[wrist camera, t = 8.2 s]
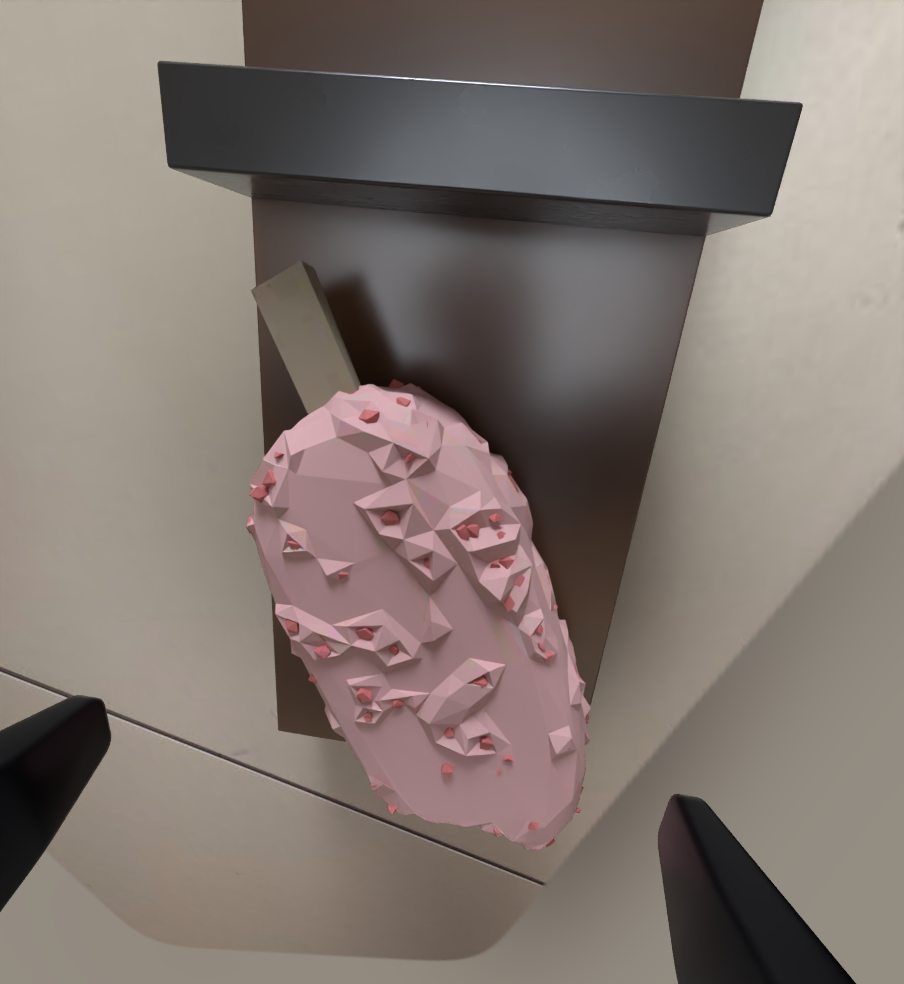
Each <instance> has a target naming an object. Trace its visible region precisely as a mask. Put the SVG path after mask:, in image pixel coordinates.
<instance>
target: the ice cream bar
mask: <svg viewBox="0 0 904 984" xmlns="http://www.w3.org/2000/svg"><path fill="white" fill-rule="evenodd" d="M251 292H252V294H253V296H254V298H255V300H256V302H257V305H258V307H259V309H260V311H261V313H262V315H263V318H264V320H265V322H266V324H267V326H268V328H269V331H270V333H271V335H272V337H273V339H274V341H275V344H276V346H277V348H278V350H279V352H280V354H281V357H282V359H283V361H284V363H285V365H286V367H287V370H288V372H289V374H290V376H291V378H292V380H293V383H294V385H295V387H296V389H297V391H298V393H299V396H300V398H301V400H302V402H303V404H304V406H305V409H306V411H307V413H308V415H307V416H306V417H304V418H303V419H301V420H300V421H299V422H298V423H297V424H296V425H295V426H294V427H293V428H292V429H291V430H285V431H283V433H282V434H281V435H280V437H279V438H278V439H277V441H276V442H275V444H274V445H273V446H272V448H271V449H270V450H269V452H268V453H267V454H266V456H265V457H264V458H263V460H262V462H261V464H260V465H259V467H258V469H257V471H256V473H255V475H254V477H253V478H252V480H251V482H250V484H249V485H250V488H251V491H250V496H251V497H253V498H254V500H255V503H254V510H253V516H251V517H249V520H248V525H247V527H246V528H247V529H248V531H249V533H250V534H252V536H253V538H254V540H255V542H256V545H257V549H258V552H259V556H260V560H261V563H262V567H263V571H264V574H265V577H266V579H267V582H268V585H269V587H270V590H271V593H272V595H273V598H274V601H275V603H276V609H275V614H276V616H277V618H278V619H279V621H280V623H281V624H282V626H283V628H284V629H285V631H286V633H287V635H288V636H289V638H290V639H291V653H292V654H294V655H296V656H298V657H300V658H301V659H302V661H303V663H304V665H305V666H306V668H307V670H308V672H309V674H310V677H309V679H308V680H309V681H311V682H313V683H315V685H316V687H317V689H318V691H319V693H320V695H321V697H322V698H323V700H324V702H325V704H326V706H325V712H326V715H327V717H328V720H329V722H330V724H331V727H332V729H333V730H334V731H335V732H336V733H337V734H339V735H340V736H342V737H344V739H345V740H346V742H347V744H348V745H349V747H350V748H351V750H352V752H353V753H354V755H355V757H356V758H357V760H358V761H359V763H360V765H361V766H362V768H363V769H364V771H365V773H366V774H367V776H368V777H369V780H370V784H371V787H372V791H374V792H375V793H376V794H378V795H379V796H380V797H381V798H383V799H384V800H385V801H386V802H387V803H388V804H389V806H388V807H387V808H388V809H389V811H390V812H391V814H392V813H394V812H395V811H397V812H399V813H401V814H402V815H404V816H406V815H410V814H413V813H415V814H417V815H418V816H420V817H421V818H423V819H424V820H426V821H429V822H431V823H451V824H455V825H459V826H462V827H468V826H474V825H480V826H481V828H482V830H483V831H485V832H488V833H491V834H494V835H496V837H498V838H499V837H501V836H506V837H507V838H508V839H510V840H511V841H512V842H516V843H524V845H525V849H526V850H527V849H532V850H540V849H542V848H543V847H544V846H545V845H546V847H548V846H549V845H551V844H552V843H553V842H555V840H554V839H553V838H554V837H555V836H556V835H557V834H558V833H559V832H560V831H561V830H562V829H563V828H564V827H565V826H566V825H567V824H568V823H569V822H570V821H571V820H572V818H573V815H574V813H580V811H581V810H580V809H578V808H577V805H578V802H579V800H580V795H581V792H582V790H583V787H582V785H583V780H584V775H585V770H586V766H585V745H586V744H587V743H588V742H589V735H588V729H587V723H588V719H589V715H588V712H589V710H590V709H591V707H590V705H589V704H588V702H587V701H586V699H585V698H584V696H583V693H584V688H585V684H586V683H585V682H584V681H583V680H582V678H581V677H580V676H579V673H578V670H577V666H576V657H575V653H574V647H573V645H572V642H571V640H570V639H569V634H568V629H567V625H566V621H565V620H559V618H558V614H557V607H558V606H557V605H556V601H555V596H554V592H553V588H552V585H551V581H550V577H549V573H548V569H547V567H546V565H545V563H544V561H543V560H542V558H541V556H540V554H539V552H538V551H537V549H536V547H535V545H534V544H533V542H532V540H531V537H532V529H533V521H532V516H531V512H530V509H529V505H528V500H527V498H526V497H525V496H524V494H523V493H522V492H521V490H520V489H519V487H518V485H517V484H516V482H515V481H514V479H513V478H512V476H511V473H512V471H510V470H508V465H507V463H506V461H505V460H504V458H503V456H502V455H498V454H493V453H489V447H488V442H487V441H486V440H485V439H483V438H482V437H481V436H479V435H478V434H477V433H476V432H474V431H473V430H472V429H471V428H470V426H469V425H468V424H467V422H466V421H465V419H464V418H463V417H462V416H461V415H460V414H459V412H456V411H455V410H454V409H453V408H451V407H449V406H447V405H445V404H443V403H442V402H440V401H439V400H437V399H436V398H434V397H433V396H431V395H430V394H428V393H427V392H425V391H424V390H422V389H421V387H420V386H415V385H413V384H411V383H410V384H407V385H405V386H403V385H404V384H403V383H401V382H399V381H397V380H395V379H393V380H392V382H391V384H390V385H389V387H382V386H375V385H373V384H367V385H363V386H361V385H360V382H359V379H358V377H357V374H356V372H355V369H354V367H353V364H352V362H351V359H350V357H349V354H348V352H347V349H346V347H345V344H344V342H343V339H342V337H341V334H340V331H339V329H338V326H337V324H336V321H335V319H334V316H333V314H332V311H331V309H330V306H329V304H328V301H327V299H326V296H325V294H324V291H323V289H322V286H321V283H320V281H319V278H318V276H317V273H316V271H315V268H313V267H312V266H310V265H308V264H307V263H305V262H303V261H301V260H300V261H299V262H297V263H295V264H293V265H292V266H290V267H288V268H286V269H285V270H283V271H281V272H280V273H278V274H276V275H274V276H273V277H271V278H269V279H267V280H266V281H264V282H262V283H260V284H259V285H258V286H256V287H255V288H254V289H253V290H251Z"/></svg>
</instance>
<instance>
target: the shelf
mask: <svg viewBox="0 0 904 984" xmlns="http://www.w3.org/2000/svg"><path fill="white" fill-rule="evenodd" d="M763 2H764V0H242V14H243V34H244V54H245V66H232V65H217V64H201V63H186V62H171V61H159V62H158V74H159V84H160V94H161V104H162V114H163V123H164V133H165V143H166V153H167V163H168V166H169V167H170V168H172V169H174V170H177V171H180V172H182V173H185V174H188V175H191V176H193V177H196V178H199V179H202V180H204V181H207V182H210V183H213V184H215V185H218V186H221V187H224V188H226V189H229V190H232V191H235V192H237V193H240V194H243V195H246V196H248V197H251V198H252V214H253V234H254V254H255V273H256V286H258V285H259V284H260V283H262V282H264V281H266V280H267V279H269V278H271V277H273V276H274V275H276V274H278V273H280V272H281V271H283V270H285V269H286V268H288V267H290V266H292V265H293V264H295V263H297V262H299V261H300V260H301V261H303V262H305V263H307V264H308V265H310V266H312V267H313V268H315V271H316V273H317V276H318V278H319V281H320V283H321V286H322V289H323V291H324V294H325V296H326V299H327V301H328V304H329V306H330V309H331V311H332V314H333V316H334V319H335V321H336V324H337V326H338V329H339V331H340V334H341V337H342V339H343V342H344V344H345V347H346V349H347V352H348V354H349V357H350V359H351V362H352V364H353V367H354V369H355V372H356V374H357V377H358V379H359V382H360V385H361V386H363V385H367V384H373V385H375V386H382V387H389V385H390V384H391V382H392V380H393V379H395V380H397V381H399V382H401V383H403V384H404V385H403V386H405V385H407V384H410V383H411V384H413V385H415V386H420V387H421V389H422V390H424V391H425V392H427V393H428V394H430V395H431V396H433V397H434V398H436V399H437V400H439V401H440V402H442V403H443V404H445V405H447V406H449V407H451V408H453V409H454V410H455V411H456V412H459V414H460V415H461V416H462V417H463V418H464V419H465V421H466V422H467V424H468V425H469V426H470V428H471V429H472V430H473V431H474V432H476V433H477V434H478V435H479V436H481V437H482V438H483V439H485V440H486V441H487V442H488V447H489V453H493V454H498V455H502V456H503V458H504V460H505V461H506V463H507V465H508V470H510V471H512V473H511V476H512V478H513V479H514V481H515V482H516V484H517V485H518V487H519V489H520V490H521V492H522V493H523V494H524V496H525V497H526V498H527V500H528V505H529V509H530V512H531V516H532V521H533V529H532V537H531V540H532V542H533V544H534V545H535V547H536V549H537V551H538V552H539V554H540V556H541V558H542V560H543V561H544V563H545V565H546V567H547V569H548V573H549V577H550V581H551V585H552V588H553V592H554V596H555V601H556V605H557V606H558V607H557V614H558V618H559V620H565V621H566V625H567V629H568V634H569V639H570V640H571V642H572V645H573V647H574V653H575V657H576V666H577V670H578V673H579V676H580V677H581V678H582V680H583V681H584V682H585V683H586V684H585V688H584V693H583V696H584V698H585V699H586V701H587V702H588V704H589V705H591V701H592V697H593V693H594V689H595V684H596V680H597V676H598V672H599V668H600V664H601V660H602V656H603V652H604V648H605V644H606V640H607V636H608V632H609V628H610V623H611V619H612V615H613V611H614V607H615V603H616V599H617V595H618V591H619V587H620V583H621V579H622V575H623V571H624V567H625V562H626V558H627V554H628V550H629V546H630V542H631V538H632V534H633V530H634V526H635V522H636V518H637V514H638V510H639V506H640V502H641V497H642V493H643V489H644V485H645V481H646V477H647V473H648V469H649V465H650V461H651V457H652V453H653V449H654V445H655V441H656V436H657V432H658V428H659V424H660V420H661V416H662V412H663V408H664V404H665V400H666V396H667V392H668V388H669V384H670V380H671V376H672V371H673V367H674V363H675V359H676V355H677V351H678V347H679V343H680V339H681V335H682V331H683V327H684V323H685V319H686V315H687V310H688V306H689V302H690V298H691V294H692V290H693V286H694V282H695V278H696V274H697V270H698V266H699V262H700V258H701V254H702V250H703V245H704V241H705V237H706V236H707V235H710V234H714V233H717V232H720V231H724V230H727V229H730V228H733V227H737V226H740V225H743V224H747V223H750V222H753V221H757V220H760V219H763V218H766V217H770V216H771V214H772V212H773V209H774V205H775V202H776V198H777V195H778V191H779V188H780V184H781V181H782V177H783V174H784V170H785V167H786V163H787V160H788V156H789V153H790V149H791V146H792V142H793V139H794V135H795V132H796V128H797V125H798V121H799V118H800V114H801V111H802V107H803V104H801V103H799V102H785V101H770V100H754V99H740V95H741V91H742V87H743V83H744V79H745V75H746V71H747V67H748V63H749V58H750V54H751V50H752V46H753V42H754V38H755V34H756V30H757V26H758V22H759V18H760V14H761V10H762V6H763ZM257 313H258V333H259V353H260V373H261V393H262V413H263V433H264V453H265V456H266V454H267V453H268V452H269V450H270V449H271V448H272V446H273V445H274V444H275V442H276V441H277V439H278V438H279V437H280V435H281V434H282V433H283V431H285V430H291V429H292V428H293V427H294V426H295V425H296V424H297V423H298V422H299V421H300V420H301V419H303V418H304V417H306V416H307V415H308V413H307V411H306V409H305V406H304V404H303V402H302V400H301V398H300V396H299V393H298V391H297V389H296V387H295V385H294V383H293V380H292V378H291V376H290V374H289V372H288V370H287V367H286V365H285V363H284V361H283V359H282V357H281V354H280V352H279V350H278V348H277V346H276V344H275V341H274V339H273V337H272V335H271V333H270V331H269V328H268V326H267V324H266V322H265V320H264V318H263V315H262V313H261V311H260V309H259V307H258V305H257ZM275 609H276V603H275V601H274V598H273V595H272V613H273V633H274V653H275V673H276V693H277V713H278V730H279V731H284V732H290V733H296V734H302V735H308V736H314V737H320V738H327V739H333V740H339V741H345V742H346V740H345V739H344V737H342V736H340V735H339V734H337V733H336V732H335V731H334V730H333V729H332V727H331V724H330V722H329V720H328V717H327V715H326V712H325V706H326V704H325V702H324V700H323V698H322V697H321V695H320V693H319V691H318V689H317V687H316V685H315V683H313V682H311V681H309V680H308V679H309V677H310V674H309V672H308V670H307V668H306V666H305V665H304V663H303V661H302V659H301V658H300V657H298V656H296V655H294V654H292V653H291V639H290V638H289V636H288V635H287V633H286V631H285V629H284V628H283V626H282V624H281V623H280V621H279V619H278V618H277V616H276V614H275ZM588 713H589V712H588Z"/></svg>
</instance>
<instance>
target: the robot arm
mask: <svg viewBox="0 0 904 984" xmlns="http://www.w3.org/2000/svg"><path fill="white" fill-rule="evenodd" d="M110 742H111V731H110V726H109V722H108V717H107V712H106V708H105V704H104V702H103V701H102V700H101V699H99V698H95V697H89V696H83V695H76V696H72V697H70V698H67V699H65V700H63V701H61V702H59V703H57V704H55V705H53V706H51V707H49V708H47V709H45V710H43V711H40V712H38V713H36V714H34V715H32V716H30V717H28V718H26V719H24V720H22V721H20V722H18V723H16V724H14V725H12V726H10V727H7V728H5V729H3V730H1V731H0V912H1V910H2V909H3V907H4V906H5V905H6V904H7V902H8V901H9V899H10V898H11V897H12V895H13V894H14V893H15V891H16V890H17V889H18V887H19V886H20V885H21V883H22V882H23V880H24V879H25V878H26V876H27V875H28V874H29V872H30V871H31V870H32V868H33V867H34V865H35V864H36V863H37V861H38V860H39V858H40V857H41V855H42V854H43V853H44V851H45V850H46V848H47V847H48V845H49V844H50V842H51V841H52V839H53V838H54V836H55V834H56V833H57V831H58V830H59V828H60V826H61V825H62V823H63V822H64V820H65V818H66V817H67V815H68V814H69V812H70V810H71V809H72V807H73V805H74V804H75V802H76V801H77V799H78V797H79V796H80V794H81V793H82V791H83V789H84V788H85V786H86V785H87V783H88V781H89V780H90V778H91V777H92V775H93V773H94V772H95V770H96V768H97V767H98V765H99V764H100V762H101V760H102V759H103V757H104V756H105V754H106V752H107V750H108V748H109V745H110ZM658 850H659V857H660V864H661V871H662V879H663V886H664V893H665V900H666V907H667V915H668V922H669V929H670V936H671V943H672V950H673V956H674V963H675V969H676V975H677V980H678V984H856V983H855V982H854V981H853V980H852V978H851V977H850V976H849V974H848V973H847V972H846V971H845V970H844V969H843V968H842V966H841V965H840V964H839V962H838V961H837V960H836V959H835V958H834V956H833V955H832V954H831V953H830V952H829V951H828V949H827V948H826V947H825V946H824V944H823V943H822V942H821V941H820V940H819V938H818V937H817V936H816V935H815V933H814V932H813V931H812V930H811V929H810V927H809V926H808V925H807V924H806V923H805V921H804V920H803V919H802V918H801V917H800V915H799V914H798V913H797V912H796V911H795V909H794V908H793V907H792V906H791V904H790V903H789V902H788V901H787V900H786V899H785V897H784V896H783V895H782V894H781V892H780V891H779V890H778V889H777V888H776V886H775V885H774V884H773V883H772V882H771V880H770V879H769V878H768V877H767V876H766V874H765V873H764V872H763V871H762V870H761V868H760V867H759V866H758V865H757V863H756V862H755V861H754V860H753V859H752V858H751V856H750V855H749V854H748V853H747V851H746V850H745V849H744V848H743V847H742V845H741V844H740V843H739V842H738V841H737V840H736V838H735V837H734V836H733V835H732V833H731V832H730V831H729V830H728V829H727V827H726V826H725V825H724V824H723V822H722V821H721V820H720V819H719V818H718V816H717V815H716V814H715V813H714V812H713V810H712V809H711V808H710V807H709V806H708V804H707V803H706V802H705V801H703V800H702V799H700V798H698V797H693V796H687V795H681V794H674V795H673V796H672V797H671V798H670V800H669V803H668V806H667V808H666V811H665V814H664V817H663V820H662V822H661V825H660V828H659V832H658Z"/></svg>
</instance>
